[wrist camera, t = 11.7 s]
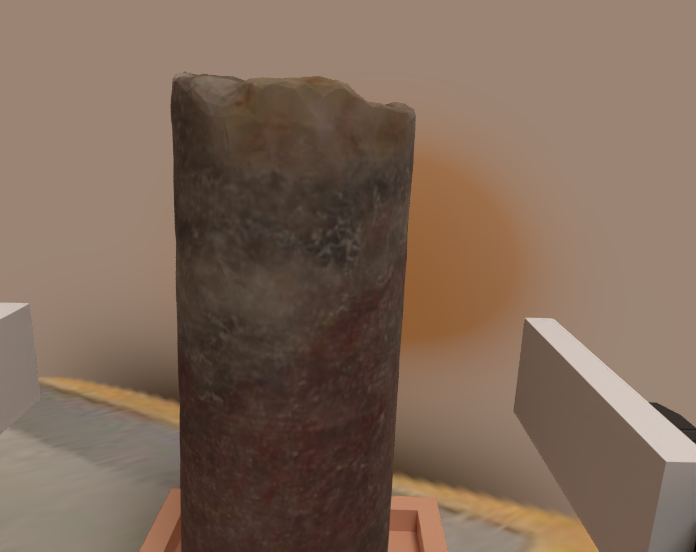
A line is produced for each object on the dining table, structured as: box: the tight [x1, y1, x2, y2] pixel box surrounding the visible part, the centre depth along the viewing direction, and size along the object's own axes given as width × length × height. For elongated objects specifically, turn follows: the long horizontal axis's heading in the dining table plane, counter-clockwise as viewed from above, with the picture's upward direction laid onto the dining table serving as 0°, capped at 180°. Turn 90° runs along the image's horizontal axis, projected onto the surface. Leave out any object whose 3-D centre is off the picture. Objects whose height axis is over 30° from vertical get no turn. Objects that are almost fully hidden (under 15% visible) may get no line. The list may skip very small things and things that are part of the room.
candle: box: [171, 72, 416, 552], centre depth 18 cm, size 8×7×20 cm
